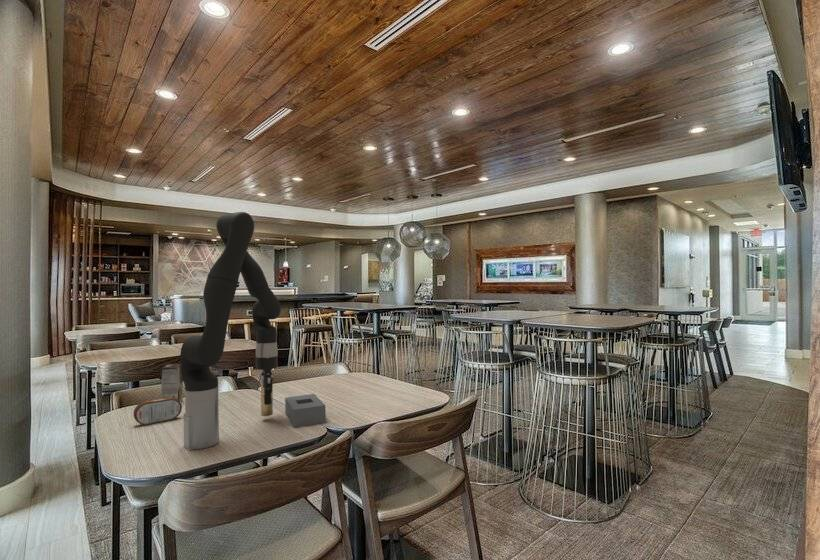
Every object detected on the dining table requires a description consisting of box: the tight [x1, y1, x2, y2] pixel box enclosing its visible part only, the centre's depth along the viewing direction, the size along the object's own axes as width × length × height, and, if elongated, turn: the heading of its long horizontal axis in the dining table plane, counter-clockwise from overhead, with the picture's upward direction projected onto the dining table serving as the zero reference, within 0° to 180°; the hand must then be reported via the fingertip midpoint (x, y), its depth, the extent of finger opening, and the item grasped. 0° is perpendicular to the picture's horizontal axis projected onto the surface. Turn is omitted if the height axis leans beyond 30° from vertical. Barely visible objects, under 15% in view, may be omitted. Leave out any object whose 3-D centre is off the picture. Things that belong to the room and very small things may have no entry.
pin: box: [260, 381, 274, 417], centre depth 151 cm, size 4×4×12 cm
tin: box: [133, 397, 183, 426], centre depth 152 cm, size 15×3×8 cm, turn 129°
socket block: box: [284, 393, 327, 428], centre depth 153 cm, size 18×11×6 cm, turn 25°
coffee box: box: [160, 363, 184, 403], centre depth 176 cm, size 9×6×16 cm
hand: (266, 402), depth 151 cm, fingers closed on pin, 4 cm apart
